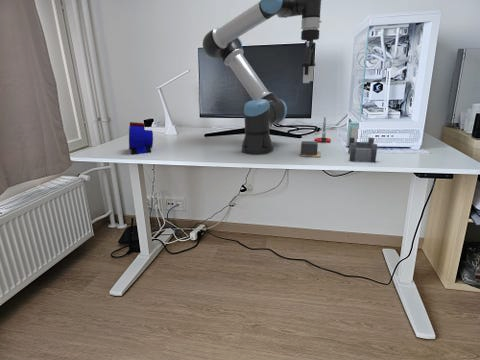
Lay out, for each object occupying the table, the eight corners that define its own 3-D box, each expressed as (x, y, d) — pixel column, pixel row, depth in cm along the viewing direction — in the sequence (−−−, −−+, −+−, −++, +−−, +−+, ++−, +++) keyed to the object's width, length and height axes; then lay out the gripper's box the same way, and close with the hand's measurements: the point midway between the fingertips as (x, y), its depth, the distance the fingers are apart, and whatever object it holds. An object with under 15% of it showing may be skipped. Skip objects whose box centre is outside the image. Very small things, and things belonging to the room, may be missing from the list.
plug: (300, 154, 140) (301, 143, 138) (301, 151, 145) (302, 141, 143) (316, 155, 138) (317, 144, 136) (317, 152, 143) (317, 141, 141)
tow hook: (313, 139, 171) (315, 143, 162) (315, 115, 167) (316, 117, 158) (329, 139, 169) (331, 143, 161) (331, 115, 166) (333, 117, 157)
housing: (349, 160, 131) (351, 144, 128) (348, 152, 143) (349, 137, 141) (375, 162, 128) (377, 145, 126) (371, 152, 141) (373, 137, 138)
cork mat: (301, 156, 139) (301, 155, 139) (303, 152, 146) (303, 150, 146) (320, 157, 137) (320, 156, 137) (321, 152, 144) (321, 151, 144)
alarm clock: (129, 149, 163) (124, 120, 158) (153, 146, 167) (149, 118, 162) (130, 155, 152) (125, 124, 147) (156, 152, 156) (152, 121, 151)
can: (353, 144, 156) (355, 120, 152) (365, 147, 150) (367, 122, 146) (343, 146, 153) (345, 122, 149) (354, 149, 147) (356, 124, 143)
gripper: (316, 26, 121) (313, 83, 128) (322, 31, 143) (319, 80, 150) (297, 27, 123) (295, 83, 130) (305, 32, 145) (303, 80, 153)
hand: (308, 82), depth 140 cm, fingers open, 13 cm apart
